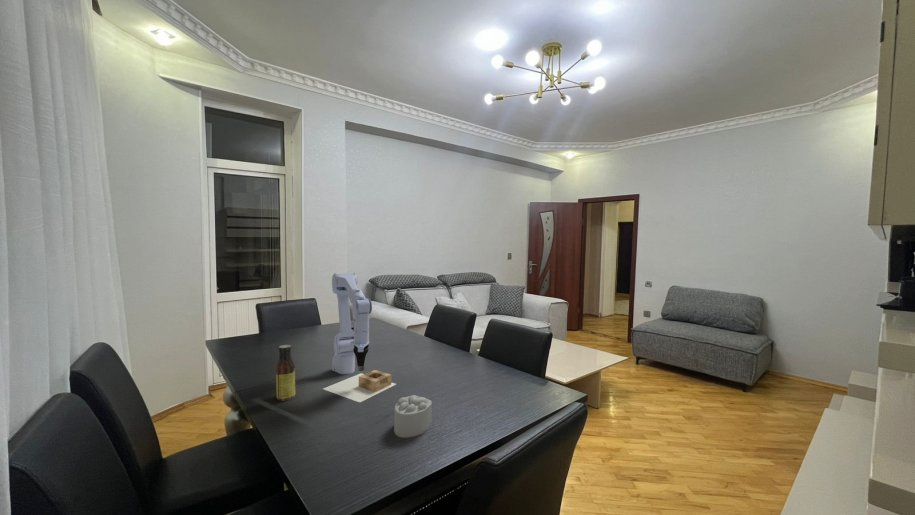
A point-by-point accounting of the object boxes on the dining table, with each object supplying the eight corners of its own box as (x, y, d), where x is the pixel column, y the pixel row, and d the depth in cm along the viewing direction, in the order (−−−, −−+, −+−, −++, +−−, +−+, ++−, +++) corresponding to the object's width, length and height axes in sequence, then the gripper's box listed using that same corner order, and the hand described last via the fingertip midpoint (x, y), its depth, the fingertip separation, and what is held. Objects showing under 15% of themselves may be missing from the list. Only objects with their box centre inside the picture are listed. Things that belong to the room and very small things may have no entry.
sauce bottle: (299, 398, 133) (299, 345, 132) (284, 405, 127) (285, 349, 126) (286, 394, 136) (287, 342, 134) (271, 401, 130) (272, 347, 129)
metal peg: (355, 370, 141) (355, 349, 140) (360, 367, 143) (361, 348, 143) (360, 371, 139) (360, 351, 139) (365, 369, 142) (366, 349, 141)
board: (322, 391, 139) (322, 388, 139) (360, 375, 156) (361, 373, 156) (359, 405, 129) (359, 402, 129) (396, 386, 146) (396, 384, 146)
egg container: (435, 421, 119) (435, 396, 119) (414, 441, 108) (415, 413, 107) (408, 414, 124) (409, 389, 123) (385, 432, 112) (386, 405, 111)
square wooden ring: (358, 386, 142) (358, 376, 142) (374, 379, 150) (375, 369, 150) (375, 392, 138) (375, 381, 137) (391, 384, 145) (391, 374, 145)
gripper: (351, 326, 147) (351, 358, 147) (349, 335, 132) (349, 371, 133) (369, 325, 148) (369, 358, 149) (369, 335, 134) (368, 370, 135)
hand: (360, 364), depth 141 cm, fingers closed on metal peg, 3 cm apart
